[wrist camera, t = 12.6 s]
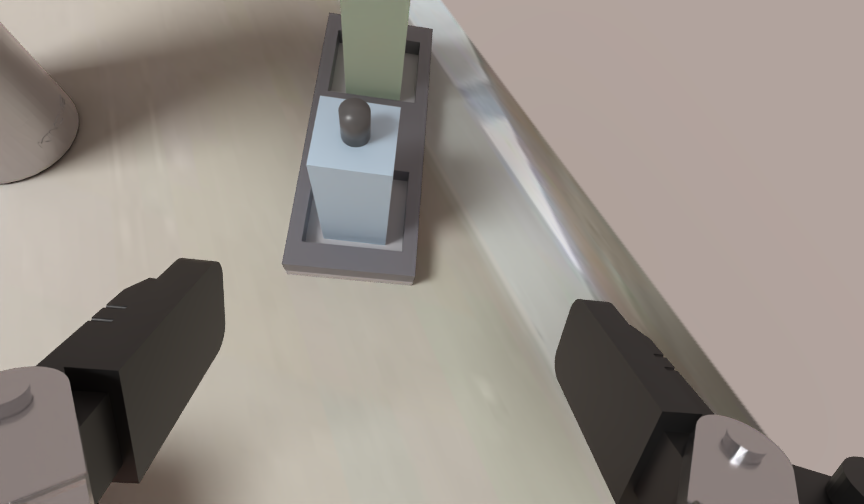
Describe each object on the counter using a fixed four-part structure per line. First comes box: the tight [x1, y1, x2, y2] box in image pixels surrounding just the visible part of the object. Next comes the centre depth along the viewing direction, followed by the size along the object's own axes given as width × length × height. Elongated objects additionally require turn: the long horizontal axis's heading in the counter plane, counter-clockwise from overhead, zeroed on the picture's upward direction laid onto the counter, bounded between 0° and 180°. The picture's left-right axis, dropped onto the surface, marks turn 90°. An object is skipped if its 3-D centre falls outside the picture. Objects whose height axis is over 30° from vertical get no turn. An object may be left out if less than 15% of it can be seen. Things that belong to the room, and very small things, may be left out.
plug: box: [306, 96, 401, 245], centre depth 27 cm, size 4×4×12 cm
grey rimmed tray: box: [282, 13, 433, 285], centre depth 35 cm, size 9×23×3 cm, turn 177°
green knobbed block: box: [340, 0, 410, 101], centre depth 32 cm, size 4×4×12 cm
